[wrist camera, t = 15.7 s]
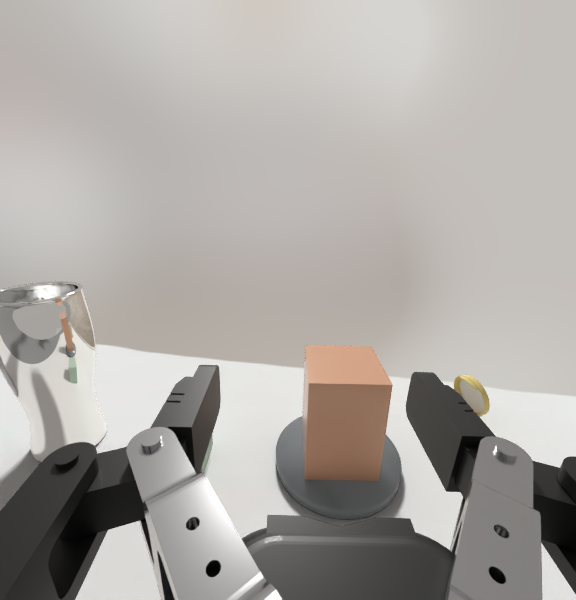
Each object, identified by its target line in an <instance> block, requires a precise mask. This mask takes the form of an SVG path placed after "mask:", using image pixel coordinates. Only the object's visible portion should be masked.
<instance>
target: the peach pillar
mask: <svg viewBox="0 0 576 600" xmlns="http://www.w3.org/2000/svg"><path fill="white" fill-rule="evenodd" d="M391 391H392V383H391V381H390V380H389V378H388V376H387V374H386V373H385V370H384V369H383V367H382V365H381V363H380V361H379V359H378V358H377V356H376V354H375V352H374V350H373V348H372V347H357V346H308V345H307V346H305V364H304V390H303V417H302V436H303V457H304V478H305V479H306V480H353V481H379V476H380V469H381V462H382V455H383V448H384V440H385V433H386V426H387V419H388V412H389V405H390V398H391Z"/></svg>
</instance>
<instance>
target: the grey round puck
mask: <svg viewBox="0 0 576 600" xmlns="http://www.w3.org/2000/svg"><path fill="white" fill-rule="evenodd" d="M302 417H303V416H302ZM302 417H299V418H298V419H296V420H294V421H293V422H291V423H290V424H289V425H288V426H287V427H286V428H285V429H284V430H283V432H282V433H281V435H280V437H279V439H278V442H277V446H276V467H277V472H278V475H279V478H280V480H281V482H282V484H283V486H284V487H285V489H286V490H287V491H288V493H289V494H290V495H291V496H292V497H293V498H294V499H295V500H296V501H298V502H299V503H300V504H301V505H303V506H305V507H306V508H308V509H309V510H311V511H314V512H316V513H318V514H321V515H324V516H326V517H331V518H336V519H346V520H349V519H360V518H365V517H368V516H371V515H374V514H376V513H378V512H380V511H381V510H383V509H384V508H385V507H387V506H388V505H389V503H390V502H391V501H392V500H393V498H394V497H395V495H396V493H397V490H398V488H399V482H400V477H401V461H400V457H399V454H398V452H397V450H396V448H395V446H394V444H393V443H392V441H391V440H390V439H389V438H388V437H387V435H386V434H385V440H384V448H383V455H382V462H381V469H380V476H379V481H353V480H306V479H305V478H304V457H303V436H302Z"/></svg>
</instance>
